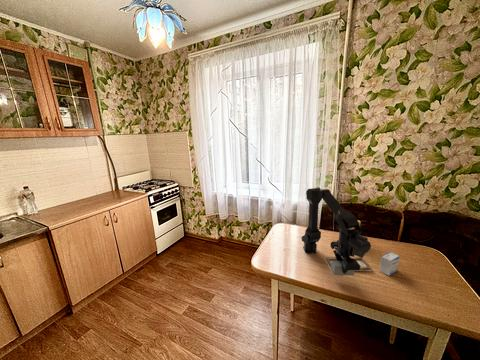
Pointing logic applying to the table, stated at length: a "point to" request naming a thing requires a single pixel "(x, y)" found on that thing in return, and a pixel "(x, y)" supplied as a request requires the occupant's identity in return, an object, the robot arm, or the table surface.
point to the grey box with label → (340, 269)
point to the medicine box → (389, 263)
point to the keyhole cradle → (361, 261)
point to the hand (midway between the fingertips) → (342, 270)
